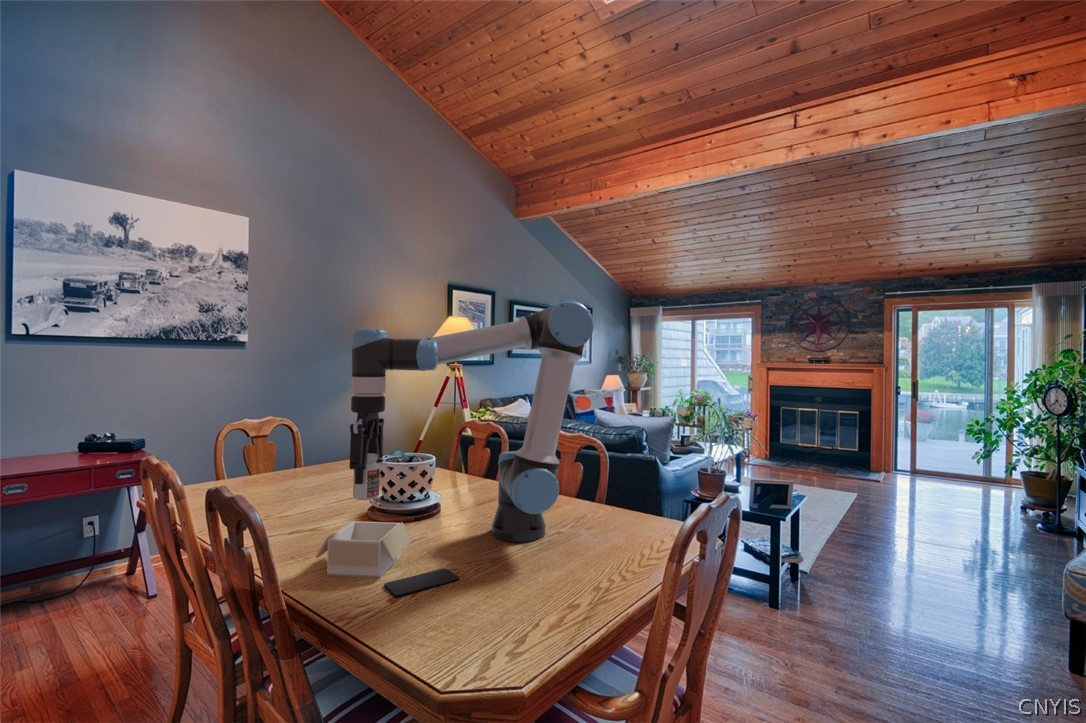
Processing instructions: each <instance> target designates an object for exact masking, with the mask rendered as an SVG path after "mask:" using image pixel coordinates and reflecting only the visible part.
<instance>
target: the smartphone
mask: <svg viewBox="0 0 1086 723" xmlns="http://www.w3.org/2000/svg"><path fill="white" fill-rule="evenodd" d="M459 581H460V577H459V576H458V575H457V574H455V573H454V572H453V571H451V570H450V569H448V568H440V569H437V570H432V571H428V572H424V573H421V574H417V575H416V574H415V575H413V576H407V577H405V578H404V577H403V578H400V579H395V580H392V581H388V582H385V583H384V584H383V588H384V589H385V590H386V591H387V592H388V594H390V596H391V597H392V598H393V599H402V598H404V597H408V596H412V595H415V594H418V593H419V594H420V593H422V592H426V591H429V590H432V589H435V588H439V587H442V586H446V585H450V584H453V583H457V582H459ZM449 583H450V584H449Z"/></svg>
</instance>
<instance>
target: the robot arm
mask: <svg viewBox="0 0 1086 723" xmlns="http://www.w3.org/2000/svg"><path fill="white" fill-rule="evenodd" d="M593 318H594V317H593V316H592V313H591V312H590V311H589V309H588V308H587V307H586V306H585V305H583V304H582V303H580V302H579V301H573V300H563V301H560V302H557V303H556V304H554V305H551V306H548V307H546V308H545V309H542V310H540V311H538V312H535V313H532V314H527V315H524V316H523V315H522V316H521V317H520V318H519V320H515V321H512V322H506V323H499V324H496V325H489V326H485V327H480V328H475V329H469V330H464V331H459V332H453V333H448V334H444V335H438V336H432V337H428V338H421V339H420V338H402V339H401V338H391V337H388V336H387V332H386V330H385V329H376V328H375V329H374V328H358V329H356V330H355V331H354V332H353V334H352V346H351V380H350V382H349V383H350V385H351V393H352V394H353V396H352V397H351V398H350V401H351V403H350V411H351V412H353V413H356V414H357V416H356V417H357V418H356V421H355V423H350V424H349V425H350V426H349V431H350V446H349V448H350V449H349V469H350V470H354V469H355V475H354V474H353V488H354V497H353V499H355V498H367V473H368V469H365V468H366V461H367V454H368V453H374V454H378V460H377V461H376V463H377V464H378V465H379V466H380V463H382V464H383V461H384V459H383V457H384V424H385V423H384V422H385V419H384V417H381V418H380V415H379V413H383V412H384V411H385V410H386V397H385V395H384V394H386V390H387V388H386V387H387V385H386V381H387V379H386V371H387V370H390V371H421V372H425V371H435V370H436V369H437V367H438V365H443V364H447V363H448V364H449V363H453V362H457V361H463V360H467V359H472V358H473V359H474V358H478V357H481V356H488V355H493V354H497V353H502V352H506V351H507V352H508V351H513V350H517V349H522V348H525V349H526V350H527V351H531V350H534V349H535V350H536V349H537V350H538V352H539V353H540V354H541V359H540V365H539V369H538V373H537V379H536V383H535V387H534V392H533V397H532V400H531V406H530V410H529V415H528V421H527V425H526V429H525V434H524V439H523V443H522V447H521V448H519V449H518V450H515V451H514V450H512V451H511V450H510V451H502V452H501V453H500V454H499V455H498V462H497V464H498V493H497V494H498V496H497V498H498V500H497V501H498V502H497V503H498V504H497V505H498V506H497V509H496V511H495V514H494V517H493V520H492V523H491V535H492V536H493V537H494V538H495V539H498V540H500V541H504V542H511V543H525V542H526V543H527V542H532V541H536V540H539V539H542V538H543V537H544V536H545V535H546V523H545V519H544V516H543V513H544V512H546V511H548V510H549V509H551V508H552V507H553V506H554V504H556V502H557V500H558V497H559V493H560V485H559V484H560V483H559V480H558V478H557V476H558V472H559V466H560V460H559V459H558V457H557V455H556V452H557V447H558V442H559V438H560V437H559V436H560V433H561V428H562V425H563V424H562V423H563V419H564V413H565V409H566V404H567V400H568V394H569V390H570V385H571V382H572V381H571V380H572V377H573V373H574V367H575V364H576V363H577V362H578V361H579V360H581V359H582V357H583V353H584V347H585V344H586V343H587V342H588V341H589V340H590V339H591V337H592V335H593V332H594V327H595V325H594V324H595V323H594V322H595V321H594V319H593Z"/></svg>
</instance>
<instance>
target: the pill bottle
mask: <svg viewBox="0 0 1086 723" xmlns="http://www.w3.org/2000/svg"><path fill="white" fill-rule="evenodd" d="M377 460H378V454H374V453H368V454H367V461H366V468H365V469H368V473H367V498H354V487H353V494H352V496H353V498H354V499H355V500H358V501H371V500H374V499H375V500H376V499H378V497H379V495H380V473H381V470H380V464H379V465H378V464H377V463H376V461H377ZM354 475H355V469H353V476H354Z"/></svg>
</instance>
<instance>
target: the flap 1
mask: <svg viewBox="0 0 1086 723" xmlns="http://www.w3.org/2000/svg"><path fill="white" fill-rule="evenodd" d="M352 522H354V520H350V521H349V522H347V523H346V524H344V525H343V526H341V527H339V529H337V530H336V531H335V532H333V533H332V534H330V535H328V536H327V537H326V539H325V540H324V542H323V544H322V545H321V547H320V549H319V550H318V552H317V554H316V556H315V557H316V558H320V557H321V556H322V555H323V554H325V553H326V552H328V539H330V538H331V537H333V536H334V535H335V534H337V533H338V532H340V531H341V530H343V529H344V528H345V527H347V526H348V525H350V524H351V523H352Z"/></svg>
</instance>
